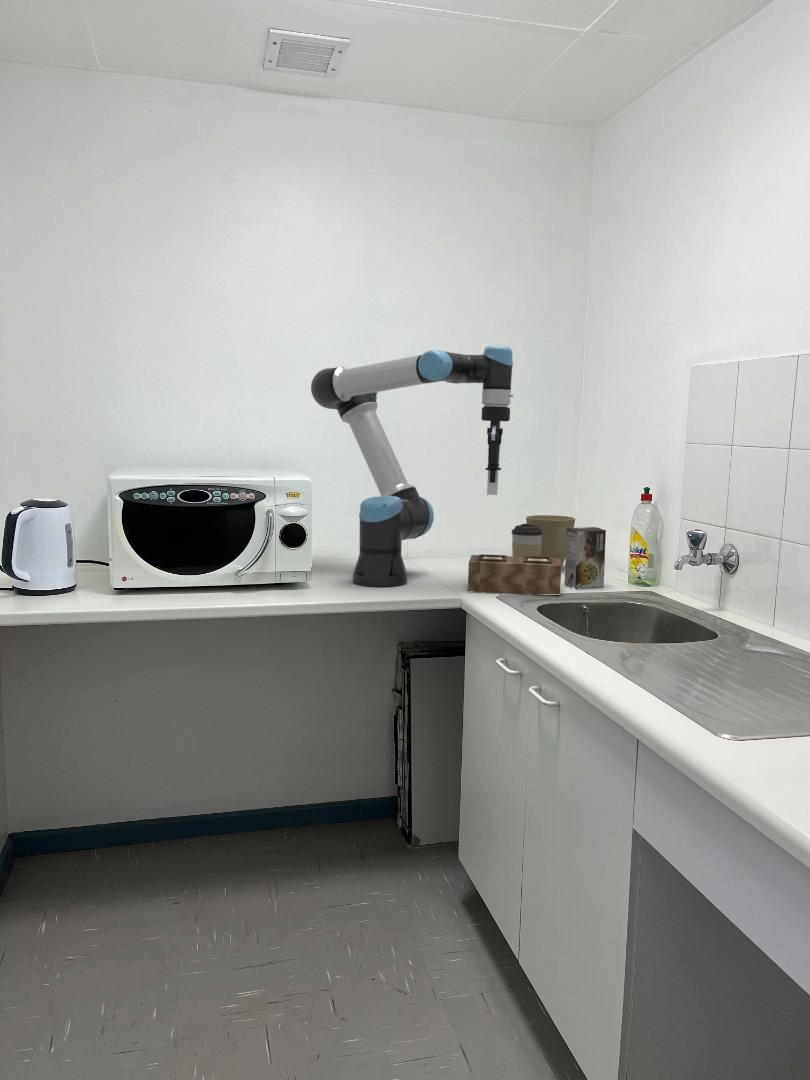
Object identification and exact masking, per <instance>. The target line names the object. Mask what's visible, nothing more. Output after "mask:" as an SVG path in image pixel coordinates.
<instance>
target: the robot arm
mask: <svg viewBox="0 0 810 1080" xmlns="http://www.w3.org/2000/svg"><path fill="white" fill-rule="evenodd" d="M513 366H514V363H513V349H512V348H511V347H509V346H502V345H500V346H499V345H491V346H489V345H488V346H485V348H484V350H483V353H482V354H463V353H455V352H449V351H444V350H440V349H433V350H432V349H430V350H427V351H425V352H424V353H423V354H419V355H413V356H409V357H403V358H398V359H393V360H388V361H382V362H377V363H372V364H367V365H362V366H357V367H351V368H347V367H346V366H337V367H328V368H327V367H326V368H322V369H321V370H320V371H318V372H317V373H316V374H315V375H314V377H313V379H312V381H311V383H310V391H311V395H312V398H313V399H314V401H315V402H316V403H317V404H318V405H319V406H320V407H323V408H324V409H329V410H337V413H338V415H339V418H340V419H341V422H343V423H346V424H349V427H350V429H351V431H352V434H353V436H354V438H355V440H356V442H357V445H358V447H359V450H360V451H361V454H362V456H363V458H364V460H365V462H366V464H367V467H368V469H369V472H370V473H371V474H370V475H371V476H372V478H373V481H374V484H375V485H376V487H377V489H378V491H379V494H380V496H372V497H368V498H365V499H364V500H362V501H361V503H360V506H359V514H358V517H359V553H358V558H357V560H356V563H355V566H354V569H353V573H352V582H353V583H354V584H357V585H360V586H365V587H366V586H367V587H381V588H383V587H384V588H385V587H395V586H396V587H397V586H401V585H405V584H407V583H408V572H407V569H406V566H405V562H404V558H403V556H402V546H403V545H402V543H403V542H402V541H405V540H413V539H414V540H415V539H417V538H419V537H421V536H423V535H425V534H427V533H429V532H428V531H430V530H431V528H432V525H433V522H434V518H435V514H434V513H435V512H434V509H433V507H432V504H431V502H429V500H427V499H426V498H424V497H422V496H420V494H419V492H418V490H417V488H416V486H414V485H412V484H410V483H408V480H407V478H406V476H405V474H404V472H403V469H402V467H401V465H400V463H399V460H398V458H397V456H396V455H395V451H394V450H393V448H392V445H391V444H390V442H389V439H388V436H387V434H386V433H385V430H384V427H383V426H382V423H381V421H380V419H379V416H378V414H377V409H378V406H379V404H378V402H377V400H378V396H377V395H378V393H379V392H385V391H391V390H396V389H402V388H408V387H412V386H419V385H424V384H433V383H438V382H446V383H448V384H450V383H451V384H458V385H459V384H482V391H481V392H482V393H481V404H482V405H483V407H481V418H480V419H481V420H482V421H484V422H485V421H486V422H490V423H489V427H487V428H486V434H487V445H488V449H487V450H488V451H487V456H488V457H487V458H488V459H487V467H485V471H487V485H486V486H487V488H486V495H489V496H490V495H491V496H497V495H498V492H499V491H498V488H499V471H502V468H501V467H500V450H501V444H502V439H503V438H502V437H503V434H504V433H503V432H504V431H503V427H501V422H509V421H511V419H510V418H511V408H510V407H509V406H510V405H511V398H513V397H514V394H513V393H512V377H513Z"/></svg>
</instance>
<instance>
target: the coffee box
mask: <svg viewBox="0 0 810 1080" xmlns="http://www.w3.org/2000/svg"><path fill="white" fill-rule="evenodd" d="M606 532H607V529H604V528H600V527H596V526H592V527H591V526H590V527H589V526H585V527H574V528H567V533H566V558H565V560H564V563H565V564H564V583H563V584H565V585H564V586H566V585H568V586H567V587H569V586H571V587H574V588H583V589H593V588H592V587H598V588H604V586H605V583H604V582H605V564H606V563H605V562H606V561H605V560H606V559H605V558H606V535H607V533H606ZM571 587H570V588H571ZM574 588H573V589H574Z"/></svg>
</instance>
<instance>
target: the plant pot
mask: <svg viewBox="0 0 810 1080" xmlns="http://www.w3.org/2000/svg"><path fill="white" fill-rule="evenodd" d="M525 519H526V520H525V521H526V524H530V525H532V526H538V527H539V528H540V530H542V531H543V532H542V534H543V535H542V539H541V543H542V544H541V553H540V557H552V558H560V562H561V568H562V567H563V565H564V563H565V559H566V533H567V528H575V523H576V518H575V517H572V516H567V515H554V514H553V515H549V514H547V515H546V514H543V515H542V514H535V515H534V514H533V515H528V516H526V517H525Z"/></svg>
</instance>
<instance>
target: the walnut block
mask: <svg viewBox="0 0 810 1080" xmlns="http://www.w3.org/2000/svg"><path fill="white" fill-rule="evenodd" d="M483 557H502V559H483ZM528 558H531V559H547V561H529V560H528ZM467 570H468V573H467V574H468V575H467V578H468V580H467V592H468V591H473V592H472V593H482V592H485V593H486V594H504V593H505V594H504V595H506V594H507V595H508V594H509V595H511V594H512V595H525V594H560V595H561V582H562V581H561V580H562V579H561V578H562V567H561V562H560V558H552V557H535V556H523V557H513V556H512V555H510V556H509V555H506V554H503V555H502V554H480V553H479V554H471V555H470V558H469V561H468V569H467Z"/></svg>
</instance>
